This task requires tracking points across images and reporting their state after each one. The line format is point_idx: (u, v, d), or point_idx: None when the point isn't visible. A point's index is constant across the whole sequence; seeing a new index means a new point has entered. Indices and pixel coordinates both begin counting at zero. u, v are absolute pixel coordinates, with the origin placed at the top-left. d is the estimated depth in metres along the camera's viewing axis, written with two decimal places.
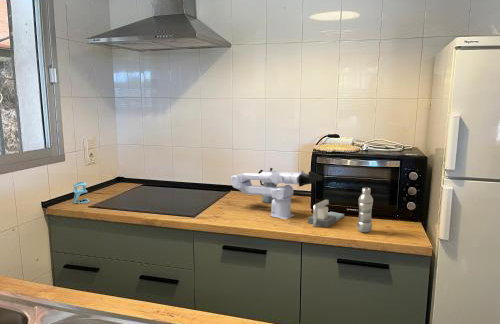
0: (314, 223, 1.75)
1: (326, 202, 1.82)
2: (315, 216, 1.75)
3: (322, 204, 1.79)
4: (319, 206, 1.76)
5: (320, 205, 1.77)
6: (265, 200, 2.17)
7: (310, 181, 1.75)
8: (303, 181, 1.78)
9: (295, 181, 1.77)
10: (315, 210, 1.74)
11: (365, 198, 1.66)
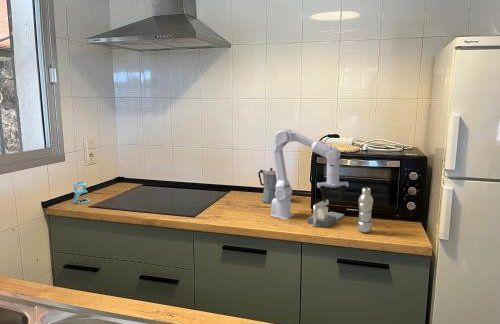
0: (314, 223, 1.75)
1: (326, 202, 1.82)
2: (315, 216, 1.75)
3: (322, 204, 1.79)
4: (319, 206, 1.76)
5: (320, 205, 1.77)
6: (265, 200, 2.17)
7: (323, 197, 1.80)
8: None
9: (317, 185, 1.79)
10: (315, 210, 1.74)
11: (365, 198, 1.65)
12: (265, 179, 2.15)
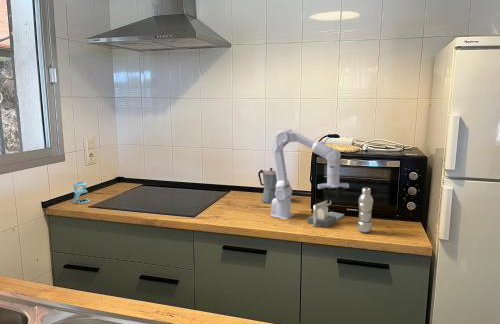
0: (314, 223, 1.75)
1: None
2: (315, 216, 1.75)
3: (323, 204, 1.78)
4: (319, 206, 1.76)
5: (321, 205, 1.77)
6: (265, 200, 2.17)
7: (327, 199, 1.81)
8: None
9: (318, 186, 1.79)
10: (315, 210, 1.74)
11: (365, 198, 1.65)
12: (265, 179, 2.15)
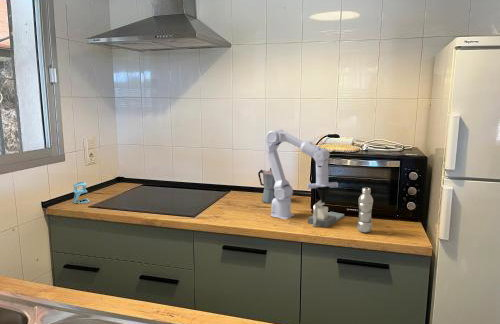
0: (314, 223, 1.75)
1: None
2: (315, 216, 1.75)
3: (320, 204, 1.79)
4: (318, 206, 1.77)
5: (319, 205, 1.77)
6: (265, 200, 2.17)
7: (321, 198, 1.81)
8: None
9: (307, 186, 1.79)
10: (315, 210, 1.74)
11: (365, 198, 1.65)
12: (265, 179, 2.15)
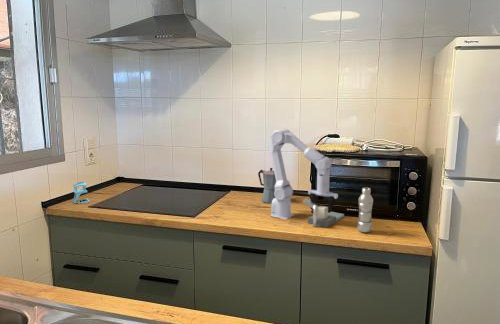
0: (316, 223, 1.75)
1: None
2: (317, 216, 1.75)
3: None
4: None
5: None
6: (265, 200, 2.17)
7: None
8: None
9: None
10: (317, 210, 1.74)
11: (365, 198, 1.66)
12: (265, 179, 2.15)
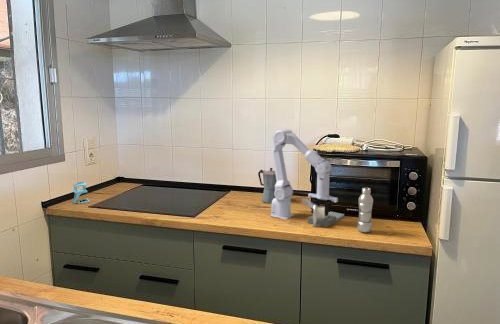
0: (316, 223, 1.75)
1: None
2: (317, 216, 1.75)
3: None
4: None
5: None
6: (265, 200, 2.17)
7: None
8: None
9: None
10: (317, 210, 1.74)
11: (365, 198, 1.65)
12: (265, 179, 2.15)
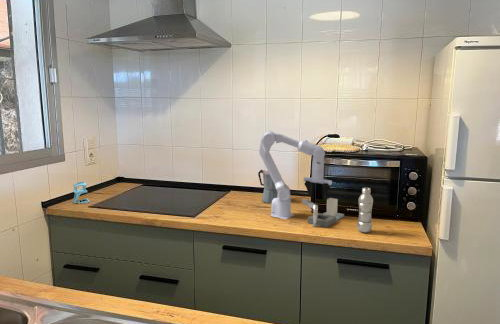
0: (316, 223, 1.75)
1: None
2: (317, 216, 1.75)
3: None
4: None
5: None
6: (265, 200, 2.17)
7: None
8: None
9: None
10: (317, 210, 1.74)
11: (365, 198, 1.65)
12: (265, 179, 2.15)
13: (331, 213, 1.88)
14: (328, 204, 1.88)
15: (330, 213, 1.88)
